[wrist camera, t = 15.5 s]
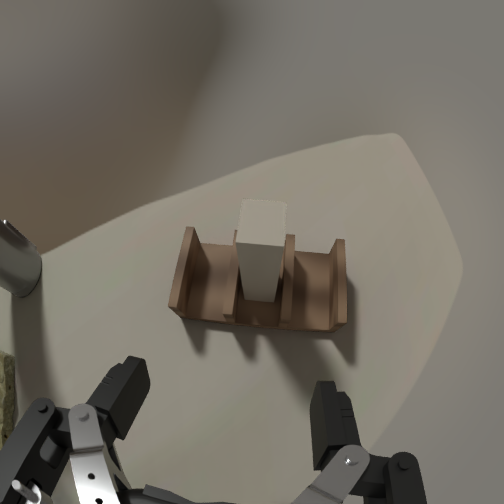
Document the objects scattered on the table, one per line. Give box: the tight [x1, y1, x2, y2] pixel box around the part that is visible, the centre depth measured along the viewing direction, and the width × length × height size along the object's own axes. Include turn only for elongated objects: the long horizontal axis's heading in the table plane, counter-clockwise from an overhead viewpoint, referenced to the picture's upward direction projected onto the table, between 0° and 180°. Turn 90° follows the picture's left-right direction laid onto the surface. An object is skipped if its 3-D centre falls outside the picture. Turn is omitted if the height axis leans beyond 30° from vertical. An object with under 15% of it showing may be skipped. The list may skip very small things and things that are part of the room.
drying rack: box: [168, 227, 347, 332], centre depth 32 cm, size 10×19×5 cm, turn 84°
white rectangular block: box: [236, 199, 287, 303], centre depth 27 cm, size 4×4×14 cm
